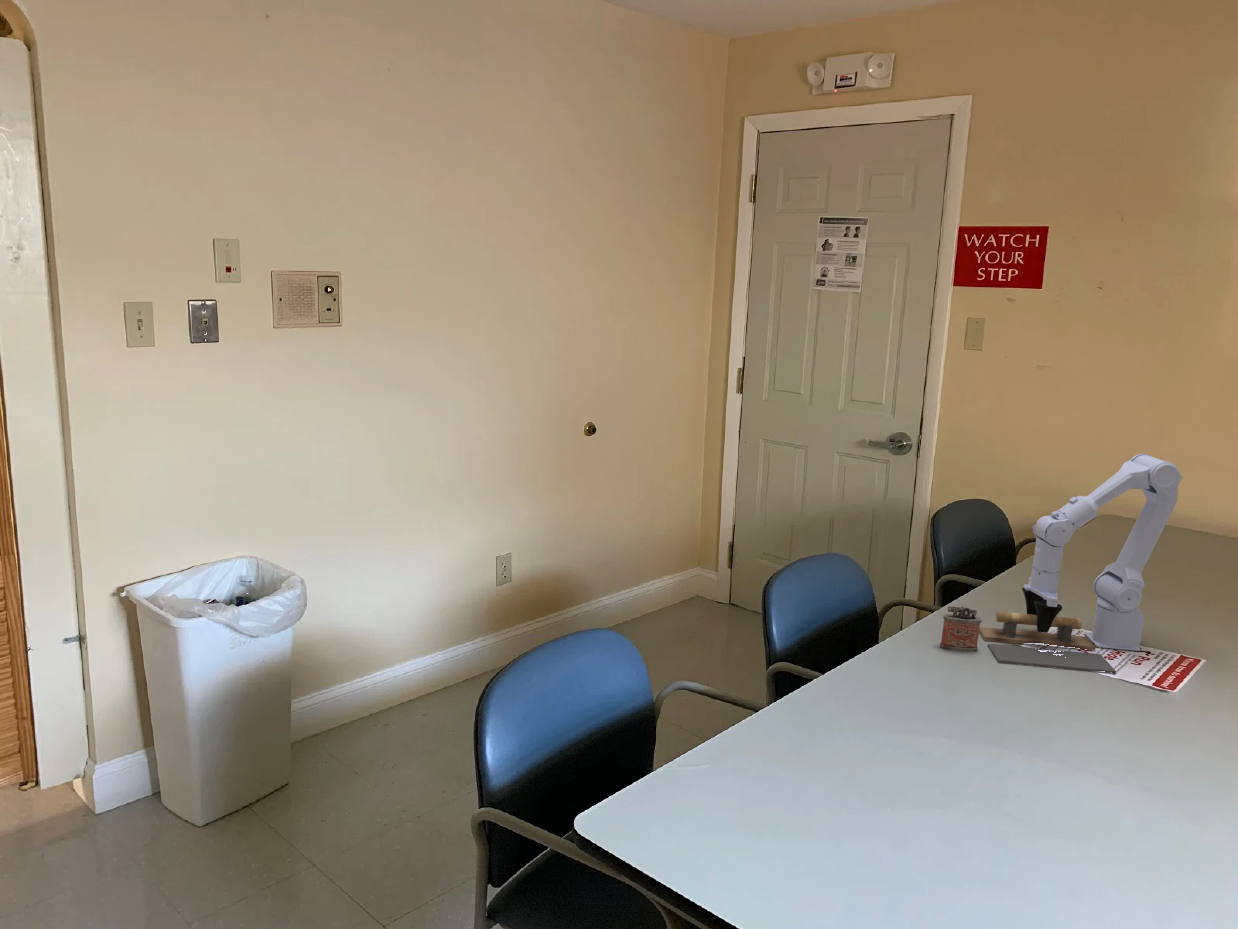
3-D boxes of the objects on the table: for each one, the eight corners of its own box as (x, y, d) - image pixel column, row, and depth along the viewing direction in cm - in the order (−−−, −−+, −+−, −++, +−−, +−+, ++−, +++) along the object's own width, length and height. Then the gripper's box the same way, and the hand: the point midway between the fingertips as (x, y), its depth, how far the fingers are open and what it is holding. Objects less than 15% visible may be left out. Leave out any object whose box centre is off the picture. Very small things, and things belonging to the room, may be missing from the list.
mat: (1100, 656, 201) (1100, 654, 201) (1115, 674, 193) (1116, 671, 192) (987, 646, 204) (988, 643, 204) (998, 662, 196) (998, 660, 196)
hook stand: (1085, 640, 210) (1088, 620, 209) (1095, 651, 204) (1098, 630, 203) (978, 630, 213) (980, 610, 212) (984, 640, 207) (987, 620, 206)
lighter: (974, 647, 204) (980, 605, 202) (979, 653, 200) (984, 610, 198) (938, 644, 204) (943, 602, 202) (941, 650, 201) (947, 607, 199)
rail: (1077, 627, 208) (1078, 617, 207) (1080, 631, 206) (1082, 621, 205) (995, 619, 210) (996, 610, 210) (998, 623, 208) (999, 613, 207)
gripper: (1018, 557, 213) (1010, 612, 215) (1037, 577, 198) (1028, 635, 201) (1050, 560, 212) (1041, 615, 215) (1071, 580, 198) (1061, 639, 200)
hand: (1037, 625), depth 208 cm, fingers open, 7 cm apart
